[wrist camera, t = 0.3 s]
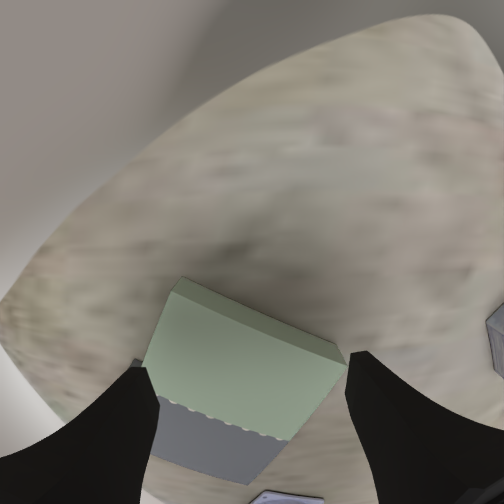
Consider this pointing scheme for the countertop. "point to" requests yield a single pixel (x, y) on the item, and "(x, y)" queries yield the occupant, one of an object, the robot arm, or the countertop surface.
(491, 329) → the medicine box
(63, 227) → the countertop surface
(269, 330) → the thick sage green slab
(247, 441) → the ticket body
